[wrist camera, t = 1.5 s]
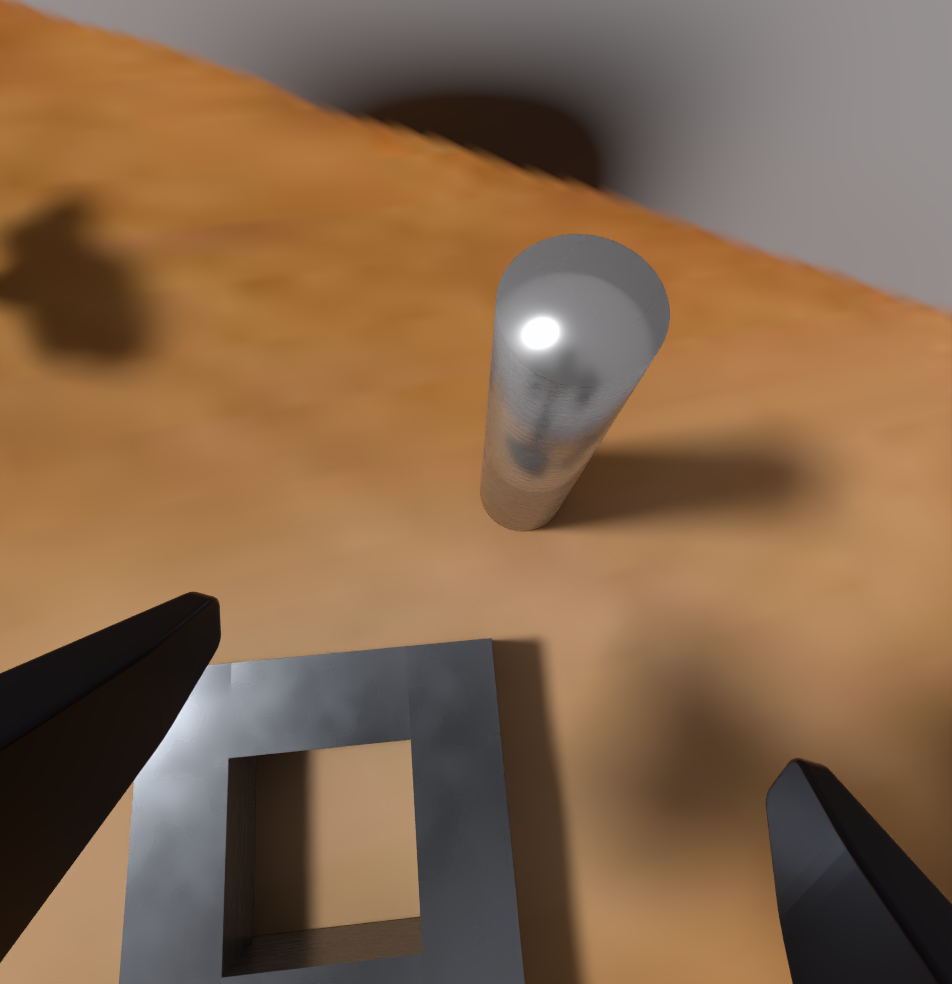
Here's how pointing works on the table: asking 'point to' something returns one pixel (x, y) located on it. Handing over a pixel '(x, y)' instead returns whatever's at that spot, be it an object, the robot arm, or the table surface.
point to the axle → (563, 367)
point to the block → (231, 823)
